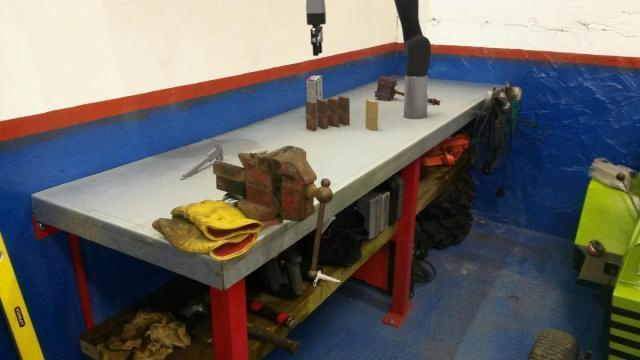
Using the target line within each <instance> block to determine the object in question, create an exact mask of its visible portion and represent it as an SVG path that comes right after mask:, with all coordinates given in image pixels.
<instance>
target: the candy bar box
mask: <svg viewBox="0 0 640 360" xmlns="http://www.w3.org/2000/svg"><path fill="white" fill-rule="evenodd" d="M305 83H306V84H305V86H306V88H305V89H306V101H308V100H310V101H313V102H316V108H317V99H323V100H324V96H323V75H311V76H309V77H308V78H307V79H306V80H305Z"/></svg>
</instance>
